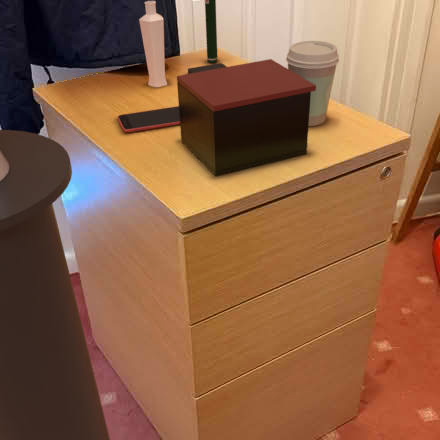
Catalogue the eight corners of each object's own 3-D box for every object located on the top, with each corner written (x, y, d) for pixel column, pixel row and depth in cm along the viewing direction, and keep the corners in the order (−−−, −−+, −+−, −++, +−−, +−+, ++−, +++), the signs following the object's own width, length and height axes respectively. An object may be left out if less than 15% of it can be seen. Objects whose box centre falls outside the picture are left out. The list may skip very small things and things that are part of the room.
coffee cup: (335, 129, 97) (342, 55, 89) (283, 129, 97) (287, 56, 90) (330, 109, 103) (337, 39, 96) (282, 109, 104) (285, 39, 96)
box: (265, 122, 100) (266, 64, 94) (306, 154, 90) (311, 91, 84) (181, 141, 95) (176, 81, 89) (215, 176, 85) (213, 112, 79)
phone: (221, 61, 121) (253, 84, 110) (221, 68, 122) (252, 91, 111) (186, 67, 119) (215, 91, 108) (187, 74, 120) (216, 98, 109)
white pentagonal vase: (162, 78, 118) (155, -3, 109) (173, 84, 116) (166, 2, 106) (142, 82, 117) (133, 1, 107) (152, 89, 114) (144, 6, 104)
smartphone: (203, 118, 100) (123, 130, 97) (203, 121, 101) (124, 133, 98) (192, 103, 106) (116, 114, 102) (192, 106, 106) (116, 118, 103)
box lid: (270, 63, 94) (271, 58, 93) (315, 90, 84) (316, 85, 84) (176, 81, 89) (176, 75, 88) (213, 111, 79) (213, 106, 79)
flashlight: (195, 63, 125) (190, -43, 112) (210, 56, 128) (206, -47, 115) (214, 67, 123) (211, -40, 110) (228, 60, 126) (227, -45, 113)
